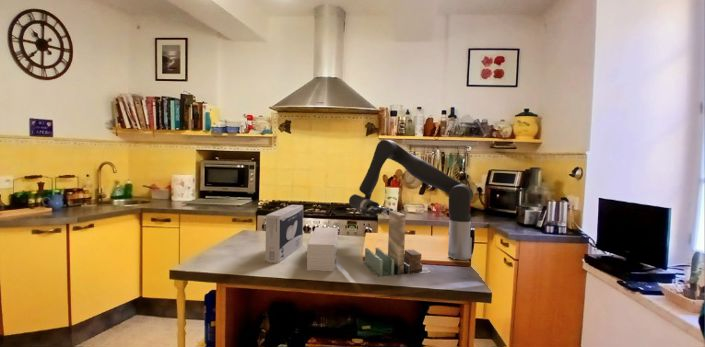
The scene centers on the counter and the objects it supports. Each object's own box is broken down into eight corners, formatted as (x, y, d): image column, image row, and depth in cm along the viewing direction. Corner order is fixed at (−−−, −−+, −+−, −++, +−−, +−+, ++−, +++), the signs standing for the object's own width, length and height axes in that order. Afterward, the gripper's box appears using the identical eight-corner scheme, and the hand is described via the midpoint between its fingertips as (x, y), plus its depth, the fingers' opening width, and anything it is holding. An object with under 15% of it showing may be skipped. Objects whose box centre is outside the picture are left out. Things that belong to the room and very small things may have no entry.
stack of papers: (334, 271, 147) (334, 244, 146) (307, 270, 147) (307, 244, 146) (337, 249, 179) (337, 227, 178) (315, 249, 179) (315, 227, 178)
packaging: (278, 263, 155) (279, 215, 154) (265, 262, 156) (265, 215, 155) (302, 245, 185) (303, 205, 183) (291, 244, 186) (291, 204, 185)
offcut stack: (412, 262, 155) (412, 248, 154) (422, 269, 146) (422, 254, 146) (400, 263, 153) (401, 249, 153) (410, 270, 145) (410, 255, 144)
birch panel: (393, 263, 153) (394, 210, 151) (403, 271, 143) (405, 215, 142) (387, 264, 152) (389, 210, 150) (397, 271, 142) (399, 215, 141)
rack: (412, 262, 160) (413, 245, 159) (432, 275, 144) (432, 256, 143) (363, 266, 153) (363, 248, 153) (377, 280, 137) (378, 260, 136)
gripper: (355, 200, 174) (367, 205, 159) (384, 199, 178) (397, 205, 163) (355, 215, 175) (366, 222, 159) (383, 215, 179) (397, 222, 163)
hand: (382, 213), depth 161 cm, fingers open, 8 cm apart
